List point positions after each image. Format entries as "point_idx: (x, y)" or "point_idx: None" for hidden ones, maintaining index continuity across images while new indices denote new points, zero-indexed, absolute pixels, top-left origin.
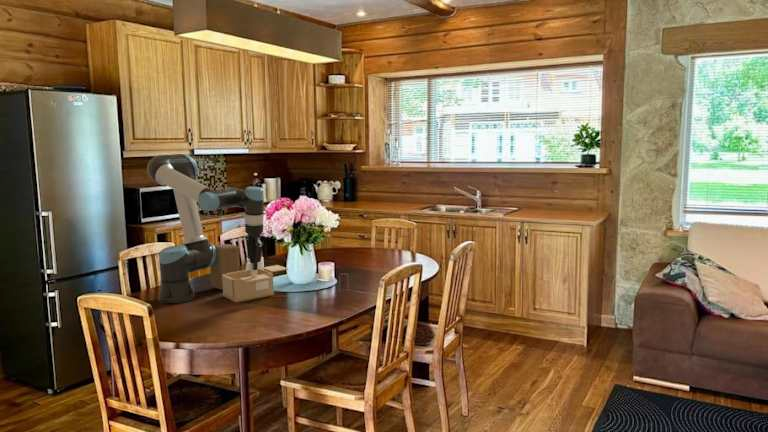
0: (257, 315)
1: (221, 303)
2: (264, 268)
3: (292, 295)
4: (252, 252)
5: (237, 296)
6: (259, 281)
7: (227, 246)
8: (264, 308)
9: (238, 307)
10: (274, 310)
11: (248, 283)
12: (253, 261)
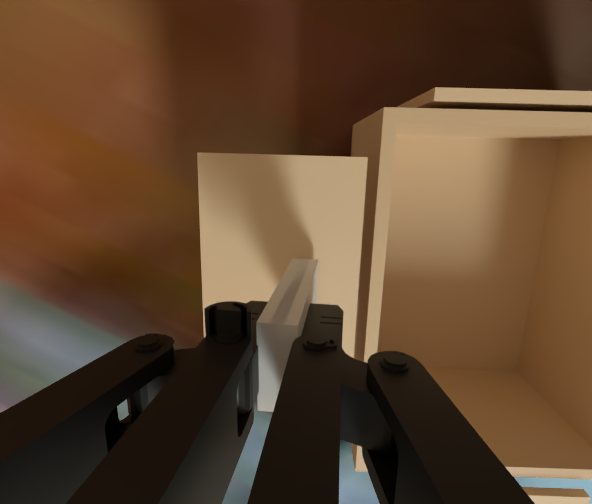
0: (4, 102)
1: (410, 40)
2: (542, 495)
3: (258, 431)
4: (161, 463)
5: (357, 136)
6: (356, 333)
7: None
8: (117, 202)
9: (241, 88)
10: (44, 225)
11: (362, 241)
12: (203, 343)
